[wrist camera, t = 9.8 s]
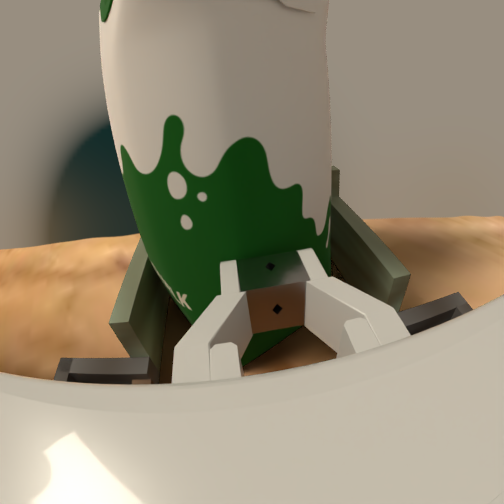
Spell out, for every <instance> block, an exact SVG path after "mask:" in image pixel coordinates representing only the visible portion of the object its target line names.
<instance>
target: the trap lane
mask: <svg viewBox="0 0 504 504" xmlns="http://www.w3.org/2000/svg"><path fill="white" fill-rule="evenodd" d="M339 174H340V170H339V169H338V168H336V167H335V166H331V216H330V248H331V258H332V260H333V261H334V263H335V265H336V266H337V268H338V270H339V271H340V273H341V275H342V276H343V278H344V280H345V281H346V283H347V284H348V285H350V286H352V287H354V288H356V289H358V290H360V291H362V292H364V293H366V294H368V295H370V296H372V297H374V298H376V299H378V300H380V301H382V302H384V303H385V304H387V305H389V306H391V307H393V308H394V310H395V311H396V313H397V314H398V316H399V317H400V319H401V320H402V322H403V324H404V325H405V327H406V328H407V330H408V332H409V333H410V335H414V334H417V333H419V332H422V331H425V330H427V329H430V328H432V327H435V326H437V325H440V324H442V323H445V322H447V321H449V320H452V319H454V318H456V317H459V316H461V315H463V314H465V313H467V312H470V311H472V310H473V309H472V308H471V307H470V305H469V304H468V303H467V302H466V300H465V299H464V298H463V297H462V296H461V294H460V293H459V292H457V293H454V294H451V295H448V296H446V297H443V298H440V299H437V300H434V301H432V302H429V303H426V304H423V305H420V306H417V307H413V308H410V309H407V310H404V311H401V312H399V309H400V306H401V303H402V301H403V298H404V295H405V291H406V288H407V285H408V282H409V279H410V275H411V274H410V272H409V271H408V270H407V269H406V268H405V267H404V265H403V264H402V263H401V262H400V261H399V260H398V258H397V257H396V256H395V255H394V254H393V253H392V252H391V250H390V249H389V248H388V247H387V246H386V245H385V244H384V243H383V242H382V241H381V239H380V238H379V237H378V236H377V235H376V234H375V233H374V232H373V231H372V230H371V229H370V228H369V227H368V226H367V224H366V223H365V222H364V221H363V220H362V219H361V218H360V217H359V216H358V215H357V214H356V213H355V212H354V211H353V210H352V209H351V208H350V207H349V206H348V205H347V204H346V203H345V202H344V201H343V200H342V199H341V198H340V197H339ZM169 296H170V294H169V293H168V291H167V289H166V288H165V286H164V284H163V283H162V281H161V279H160V278H159V276H158V274H157V272H156V271H155V269H154V267H153V265H152V263H151V261H150V259H149V257H148V254H147V252H146V249H145V246H144V244H143V241H142V238H140V240H139V243H138V245H137V248H136V250H135V252H134V255H133V257H132V260H131V262H130V265H129V267H128V270H127V273H126V275H125V278H124V281H123V283H122V286H121V289H120V292H119V294H118V297H117V300H116V303H115V306H114V309H113V312H112V315H111V318H110V321H109V325H110V326H111V328H112V329H113V331H114V333H115V334H116V336H117V337H118V339H119V340H120V342H121V343H122V345H123V346H124V348H125V349H126V351H127V352H128V354H129V355H130V358H61V359H60V362H59V365H58V368H57V371H56V374H55V377H54V380H55V381H65V382H76V383H92V384H129V385H132V384H159V377H160V367H161V357H162V348H163V340H164V332H165V324H166V317H167V310H168V303H169Z"/></svg>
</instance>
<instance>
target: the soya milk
mask: <svg viewBox="0 0 504 504" xmlns="http://www.w3.org/2000/svg"><path fill="white" fill-rule="evenodd" d="M328 5H329V0H101V3H100V11H99V26H100V49H101V62H102V73H103V81H104V88H105V95H106V102H107V108H108V113H109V118H110V123H111V128H112V133H113V138H114V142H115V146H116V151H117V155H118V159H119V164H120V167H121V171H122V175H123V179H124V183H125V186H126V190H127V193H128V197H129V200H130V204H131V207H132V210H133V213H134V217H135V220H136V223H137V226H138V229H139V232H140V235H141V238H142V241H143V244H144V246H145V249H146V252H147V254H148V257H149V259H150V261H151V263H152V265H153V267H154V269H155V271H156V272H157V274H158V276H159V278H160V279H161V281H162V283H163V284H164V286H165V288H166V289H167V291H168V293H169V294H170V296H171V297H172V299H173V301H174V302H175V304H176V305H177V306H178V308H179V309H180V310H181V312H182V313H183V314H184V316H185V317H186V318H187V320H188V321H189V322H190V324H191V325H193V324H194V323H195V322H196V320H197V319H198V318H199V317H200V316H201V314H202V313H203V312H204V311H205V309H206V308H207V307H208V306H209V305H210V303H211V302H212V301H213V300H214V298H215V297H216V296H218V295H221V278H220V263H221V262H224V261H231V260H238V259H245V258H253V257H260V256H270V255H276V254H282V253H288V252H293V251H297V250H303V249H308V248H312V249H313V250H314V252H315V254H316V256H317V258H318V259H319V261H320V263H321V265H322V267H323V268H324V270H325V272H326V274H327V276H328V277H331V248H330V216H331V116H330V97H329V96H330V95H329V80H328V67H327V56H326V45H325V44H326V43H325V42H326V41H325V39H326V24H327V15H328ZM236 263H237V261H236ZM301 326H303V325H300V326H294V327H288V328H281V329H276V330H271V331H265V332H260V333H255V334H253V336H252V338H251V340H250V342H249V344H248V346H247V348H246V350H245V352H244V354H243V356H242V358H241V364H242V367H243V366H244V365H246V364H248V363H249V362H251V361H252V360H254V359H255V358H257V357H258V356H260V355H261V354H263V353H264V352H266V351H267V350H269V349H270V348H272V347H273V346H275V345H276V344H277V343H279V342H280V341H282V340H283V339H285V338H286V337H287V336H289V335H290V334H292V333H293V332H294V331H296V330H297V329H299V328H300V327H301Z"/></svg>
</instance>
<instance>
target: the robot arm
mask: <svg viewBox="0 0 504 504" xmlns="http://www.w3.org/2000/svg"><path fill="white" fill-rule="evenodd" d="M236 261H237V263H236ZM220 278H221V295H218V296H216V297H215V298H214V300H213V301H212V302H211V303H210V305H209V306H208V307H207V308H206V309H205V311H204V312H203V313H202V314H201V316H200V317H199V318H198V319H197V320H196V322H195V323H194V324H193V325H192V327H191V328H190V329H189V330H188V331H187V333H186V334H185V335H184V336H183V337H182V339H181V340H180V341H179V342H178V344H177V345H176V346H175V347H174V358H173V371H172V383H170V384H132V385H129V384H92V383H76V382H65V381H55V380H46V379H39V378H32V377H25V376H19V375H14V374H8V373H3V372H0V504H504V294H503V295H502V296H500V297H498V298H496V299H494V300H492V301H490V302H488V303H486V304H484V305H482V306H480V307H478V308H476V309H474V310H472V311H470V312H467V313H465V314H463V315H461V316H459V317H456V318H454V319H452V320H449V321H447V322H445V323H442V324H440V325H437V326H435V327H432V328H430V329H427V330H425V331H422V332H419V333H417V334H414V335H410V333H409V332H408V330H407V328H406V327H405V325H404V324H403V322H402V320H401V319H400V317H399V316H398V314H397V313H396V311H395V310H394V308H393V307H391V306H389V305H387V304H385V303H384V302H382V301H380V300H378V299H376V298H374V297H372V296H370V295H368V294H366V293H364V292H362V291H360V290H358V289H356V288H354V287H352V286H350V285H348V284H346V283H344V282H342V281H341V280H339V279H337V278H335V277H328V276H327V274H326V272H325V270H324V268H323V267H322V265H321V263H320V261H319V259H318V258H317V256H316V254H315V252H314V250H313V249H312V248H308V249H303V250H297V251H293V252H288V253H282V254H276V255H270V256H260V257H253V258H245V259H238V260H231V261H224V262H221V263H220ZM300 325H305V327H306V328H308V329H309V330H310V331H311V332H312V333H314V334H315V335H316V336H317V337H319V338H320V339H321V340H322V341H323V342H325V343H326V344H327V345H328V346H329V347H331V348H332V349H333V350H334V351H336V352H337V357H336V359H332V360H328V361H324V362H319V363H315V364H310V365H306V366H301V367H296V368H291V369H286V370H281V371H275V372H270V373H264V374H257V375H251V376H244V372H243V368H242V364H241V358H242V356H243V354H244V352H245V350H246V348H247V346H248V344H249V342H250V340H251V338H252V336H253V334H255V333H260V332H265V331H271V330H276V329H281V328H288V327H294V326H300Z"/></svg>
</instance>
